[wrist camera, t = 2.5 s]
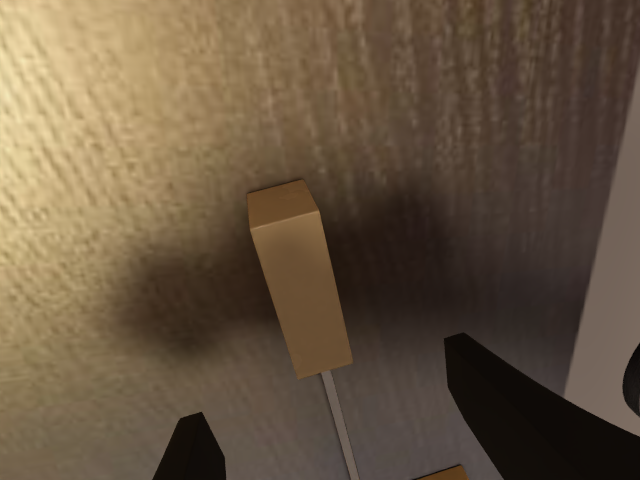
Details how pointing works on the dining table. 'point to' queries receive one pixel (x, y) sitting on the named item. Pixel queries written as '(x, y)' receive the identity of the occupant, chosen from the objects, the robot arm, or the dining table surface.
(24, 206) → the dining table surface
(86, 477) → the dining table surface
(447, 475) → the sponge cake
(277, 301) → the knife
